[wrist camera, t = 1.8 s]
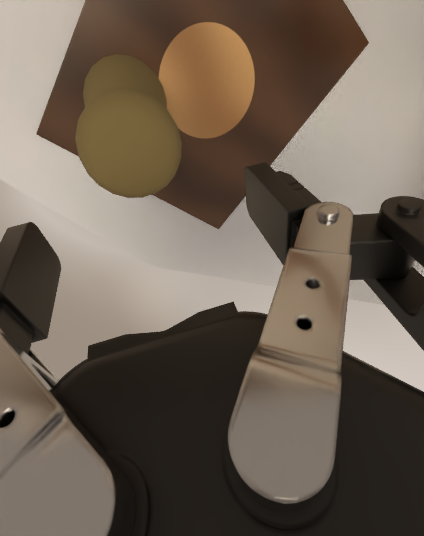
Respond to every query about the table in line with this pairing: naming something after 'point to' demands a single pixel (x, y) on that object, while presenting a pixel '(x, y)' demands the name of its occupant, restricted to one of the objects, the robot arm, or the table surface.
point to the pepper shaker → (127, 128)
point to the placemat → (214, 81)
